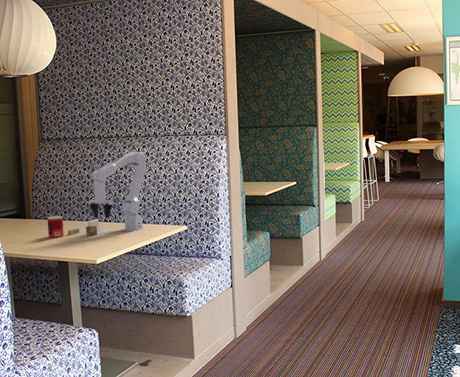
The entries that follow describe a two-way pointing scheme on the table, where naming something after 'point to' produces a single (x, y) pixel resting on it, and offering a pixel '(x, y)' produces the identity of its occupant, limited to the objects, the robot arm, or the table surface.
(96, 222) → the tile
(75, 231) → the rail
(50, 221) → the canned food
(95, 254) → the table surface
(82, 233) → the mat
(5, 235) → the table surface
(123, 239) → the table surface
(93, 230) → the block
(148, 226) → the table surface
